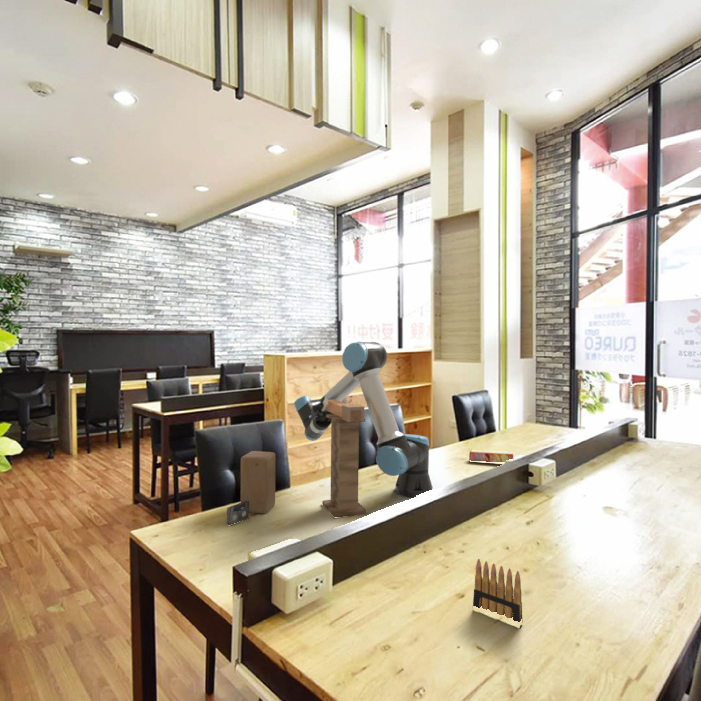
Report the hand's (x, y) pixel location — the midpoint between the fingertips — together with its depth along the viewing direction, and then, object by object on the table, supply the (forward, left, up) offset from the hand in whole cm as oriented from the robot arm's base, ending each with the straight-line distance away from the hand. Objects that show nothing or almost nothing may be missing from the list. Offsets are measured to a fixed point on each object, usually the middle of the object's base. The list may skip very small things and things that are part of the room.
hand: (336, 400), depth 175 cm
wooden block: (+16, +25, -39) cm, 49 cm away
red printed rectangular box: (-24, -92, -39) cm, 103 cm away
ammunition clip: (-76, +33, -39) cm, 91 cm away
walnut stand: (-8, +5, -38) cm, 40 cm away
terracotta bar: (-5, +3, -4) cm, 8 cm away
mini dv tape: (+12, +37, -39) cm, 55 cm away
